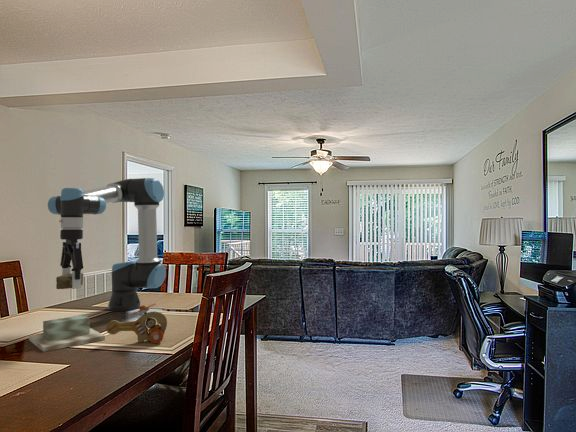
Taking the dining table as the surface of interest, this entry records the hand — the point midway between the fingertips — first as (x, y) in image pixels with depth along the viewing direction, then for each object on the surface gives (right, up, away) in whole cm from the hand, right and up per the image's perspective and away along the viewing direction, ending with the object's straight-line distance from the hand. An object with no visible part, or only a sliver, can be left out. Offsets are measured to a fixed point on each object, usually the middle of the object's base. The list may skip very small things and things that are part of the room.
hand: (71, 286), depth 155 cm
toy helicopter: (+28, -19, -7) cm, 35 cm away
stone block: (0, 0, 0) cm, 1 cm away
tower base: (0, -19, -3) cm, 19 cm away
